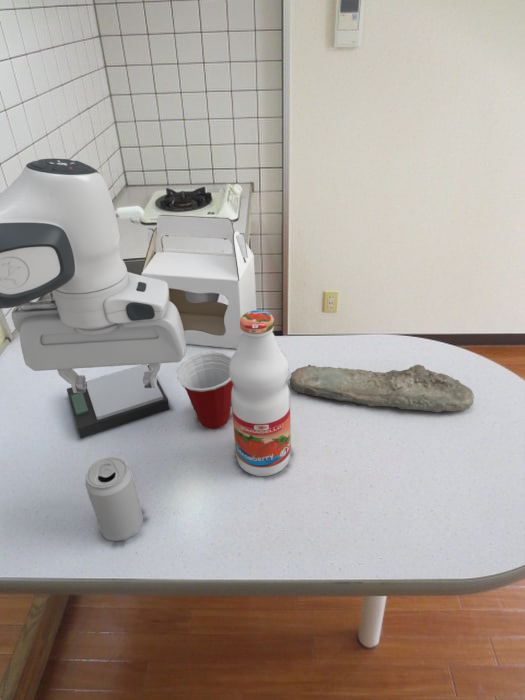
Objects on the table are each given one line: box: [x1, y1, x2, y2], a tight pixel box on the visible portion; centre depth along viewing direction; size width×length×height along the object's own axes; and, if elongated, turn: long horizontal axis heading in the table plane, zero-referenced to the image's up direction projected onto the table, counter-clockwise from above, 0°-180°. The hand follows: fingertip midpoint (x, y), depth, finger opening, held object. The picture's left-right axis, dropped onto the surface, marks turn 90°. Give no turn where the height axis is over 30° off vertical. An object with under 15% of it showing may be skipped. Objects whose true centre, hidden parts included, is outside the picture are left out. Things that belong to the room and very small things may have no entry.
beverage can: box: [84, 456, 144, 542], centre depth 77 cm, size 6×6×12 cm
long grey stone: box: [288, 364, 475, 413], centre depth 102 cm, size 35×5×10 cm
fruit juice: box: [229, 309, 292, 477], centre depth 83 cm, size 9×9×28 cm
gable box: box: [140, 214, 257, 350], centre depth 117 cm, size 22×13×28 cm, turn 77°
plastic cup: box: [176, 351, 233, 430], centre depth 96 cm, size 11×11×12 cm
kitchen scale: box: [66, 364, 170, 439], centre depth 103 cm, size 17×13×3 cm
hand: (116, 387), depth 71 cm, fingers open, 8 cm apart
